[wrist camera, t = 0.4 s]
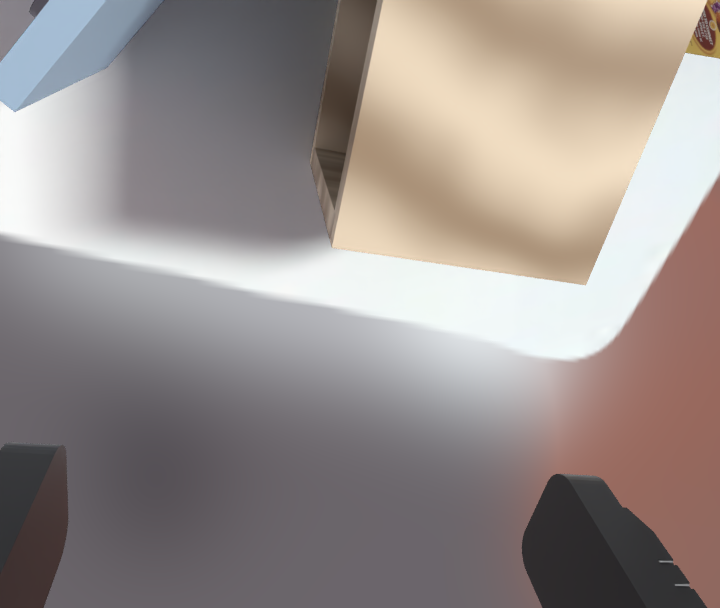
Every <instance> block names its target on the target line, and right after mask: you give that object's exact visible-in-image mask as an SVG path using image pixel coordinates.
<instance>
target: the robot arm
mask: <svg viewBox="0 0 720 608" xmlns="http://www.w3.org/2000/svg"><path fill="white" fill-rule="evenodd" d="M67 528H68V491H67V460H66V450H65V447H64V446H63V445H52V444H33V443H14V442H8V443H6V444H5V445H4V446H3V447H2V448H1V450H0V608H44V605H45V602H46V599H47V596H48V594H49V591H50V588H51V586H52V583H53V580H54V577H55V574H56V572H57V569H58V566H59V563H60V560H61V557H62V554H63V549H64V545H65V540H66V535H67ZM522 555H523V562H524V566H525V569H526V571H527V574H528V576H529V578H530V580H531V583H532V585H533V587H534V590H535V592H536V594H537V596H538V598H539V601H540V603H541V605H542V608H707V607H706V606H705V604H704V603H703V601H702V600H701V598H700V597H699V596H698V594H697V593H696V591H695V590H694V589H691V588H690V587H689V581H688V580H687V579H686V577H685V576H684V574H683V573H682V572H681V570H680V569H679V567H678V566H677V565H674V564H673V559H672V557H671V556H670V554H669V553H668V552H667V550H666V549H665V547H664V546H663V545H662V543H661V542H660V540H659V539H658V538H657V536H656V535H655V533H654V532H653V531H652V530H651V529H650V528H649V527H648V526H646V525H645V524H644V523H643V522H642V521H641V520H640V519H639V518H637V517H636V516H635V515H634V514H633V513H632V512H631V511H630V510H629V509H627V508H622V506H621V505H620V504H619V502H618V500H617V499H616V497H615V496H614V495H613V493H612V492H611V490H610V489H609V487H608V486H607V484H606V483H605V482H604V481H603V480H602V479H601V478H599V477H597V476H587V475H570V474H556V475H553V476H552V477H551V478H550V479H549V481H548V483H547V485H546V487H545V489H544V491H543V493H542V496H541V498H540V500H539V502H538V504H537V506H536V508H535V511H534V513H533V515H532V517H531V519H530V521H529V523H528V526H527V528H526V530H525V532H524V536H523V542H522Z"/></svg>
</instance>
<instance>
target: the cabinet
mask: <svg viewBox="0 0 720 608" xmlns="http://www.w3.org/2000/svg"><path fill="white" fill-rule="evenodd" d="M706 2H707V0H338V5H337V10H336V16H335V22H334V27H333V33H332V39H331V44H330V50H329V56H328V62H327V67H326V73H325V79H324V84H323V90H322V96H321V101H320V107H319V113H318V118H317V124H316V130H315V135H314V141H313V147H312V152H311V158H310V165H311V169H312V172H313V176H314V180H315V184H316V188H317V192H318V196H319V200H320V204H321V207H322V211H323V215H324V219H325V223H326V227H327V231H328V235H329V239H330V243H331V246H332V248H336V249H343V250H350V251H356V252H363V253H370V254H377V255H384V256H391V257H397V258H404V259H411V260H418V261H425V262H431V263H438V264H445V265H452V266H459V267H465V268H472V269H479V270H486V271H493V272H499V273H506V274H513V275H520V276H527V277H533V278H540V279H547V280H554V281H561V282H567V283H574V284H581V285H586V284H587V281H588V279H589V277H590V274H591V272H592V269H593V267H594V265H595V262H596V260H597V258H598V255H599V253H600V251H601V248H602V246H603V244H604V241H605V239H606V237H607V234H608V232H609V230H610V227H611V225H612V223H613V220H614V218H615V216H616V213H617V211H618V209H619V206H620V204H621V202H622V199H623V197H624V195H625V192H626V190H627V188H628V185H629V183H630V180H631V178H632V176H633V173H634V171H635V169H636V166H637V164H638V162H639V159H640V157H641V155H642V152H643V150H644V148H645V145H646V143H647V141H648V138H649V136H650V134H651V131H652V129H653V127H654V124H655V122H656V120H657V117H658V115H659V113H660V110H661V108H662V106H663V103H664V101H665V98H666V96H667V94H668V91H669V89H670V87H671V84H672V82H673V80H674V77H675V75H676V73H677V70H678V68H679V66H680V63H681V61H682V59H683V56H684V54H685V52H686V49H687V47H688V45H689V42H690V40H691V38H692V35H693V33H694V31H695V28H696V26H697V24H698V21H699V19H700V17H701V14H702V12H703V9H704V7H705V5H706Z"/></svg>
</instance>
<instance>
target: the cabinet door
mask: <svg viewBox="0 0 720 608" xmlns="http://www.w3.org/2000/svg"><path fill="white" fill-rule="evenodd" d="M163 1H164V0H35V1H34V2H33V4H32V6H31V8H30V11H29V12H30V14H32V15H33V16H34V17H35V19H34V20H33V22H32V23H31V24H30V25H29V27H28V28H27V29H26V30H25V32H24V33H23V34H22V35H21V37H20V38H19V39H18V41H17V42H16V43H15V44H14V46H13V47H12V48H11V49H10V51H9V52H8V53H7V54H6V56H5V57H4V58H3V60H2V61H1V62H0V101H2V102H3V103H4V104H5V105H6V106H8V107H9V108H10V109H11V110H13V111H14V112H16V111H18V110H20V109H22V108H24V107H26V106H28V105H31V104H33V103H35V102H37V101H39V100H41V99H43V98H45V97H47V96H49V95H51V94H53V93H55V92H57V91H60V90H62V89H64V88H66V87H68V86H70V85H72V84H74V83H76V82H78V81H80V80H82V79H84V78H87V77H89V76H91V75H93V74H95V73H97V72H99V71H101V70H103V69H105V68H107V67H108V66H109V64H110V63H111V62H112V61H113V60H114V59H115V57H116V56H117V55H118V54H119V53H120V52H121V50H122V49H123V48H124V47H125V46H126V44H127V43H128V42H129V41H130V40H131V39H132V37H133V36H134V35H135V34H136V33H137V31H138V30H139V29H140V28H141V27H142V26H143V24H144V23H145V22H146V21H147V20H148V19H149V17H150V16H151V15H152V14H153V13H154V11H155V10H156V9H157V8H158V7H159V6H160V4H161V3H162V2H163Z"/></svg>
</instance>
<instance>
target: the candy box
mask: <svg viewBox="0 0 720 608" xmlns="http://www.w3.org/2000/svg"><path fill="white" fill-rule="evenodd" d="M685 53H690V54H696V55H702V56H708V57H714V58H720V0H707V2H706V5H705V7H704V9H703V12H702V14H701V17H700V19H699V21H698V24H697V26H696V28H695V31H694V33H693V35H692V38H691V40H690V42H689V45H688V47H687V49H686V52H685Z"/></svg>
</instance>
